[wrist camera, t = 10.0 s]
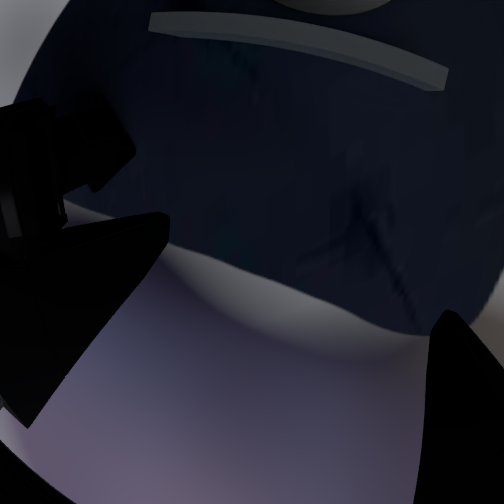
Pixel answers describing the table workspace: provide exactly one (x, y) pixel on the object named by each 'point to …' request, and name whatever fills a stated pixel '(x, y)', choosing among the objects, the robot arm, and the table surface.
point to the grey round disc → (332, 6)
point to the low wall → (305, 43)
